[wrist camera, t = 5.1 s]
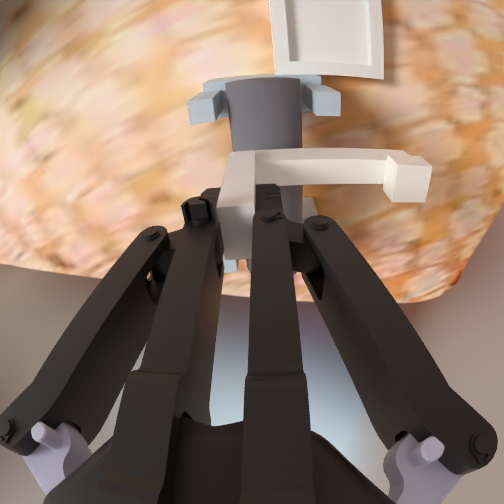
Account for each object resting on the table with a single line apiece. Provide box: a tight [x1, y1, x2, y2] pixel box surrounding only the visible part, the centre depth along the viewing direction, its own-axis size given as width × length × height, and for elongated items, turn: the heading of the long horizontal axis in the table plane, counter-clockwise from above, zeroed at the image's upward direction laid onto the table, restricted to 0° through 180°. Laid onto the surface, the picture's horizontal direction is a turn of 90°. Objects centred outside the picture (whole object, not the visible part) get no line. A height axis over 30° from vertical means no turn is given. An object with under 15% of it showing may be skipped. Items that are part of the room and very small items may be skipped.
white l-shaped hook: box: [255, 148, 433, 203], centre depth 16 cm, size 2×10×4 cm, turn 95°
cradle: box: [187, 74, 341, 273], centre depth 23 cm, size 16×10×8 cm, turn 5°
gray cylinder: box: [225, 77, 303, 275], centre depth 22 cm, size 16×5×5 cm, turn 5°
